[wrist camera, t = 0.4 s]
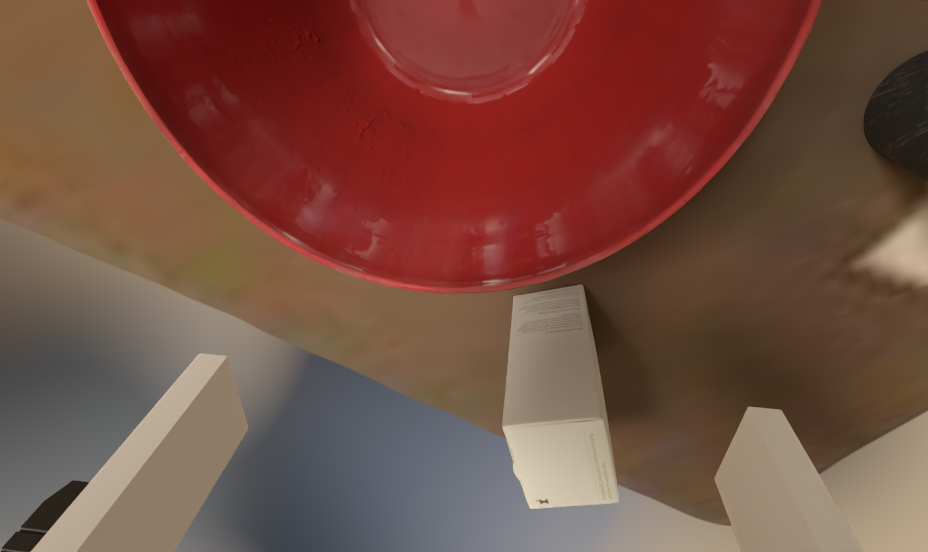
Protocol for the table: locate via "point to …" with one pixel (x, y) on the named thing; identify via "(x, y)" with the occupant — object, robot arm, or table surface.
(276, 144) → the mixing bowl
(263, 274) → the table surface
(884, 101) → the travel mug
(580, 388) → the skincare box
